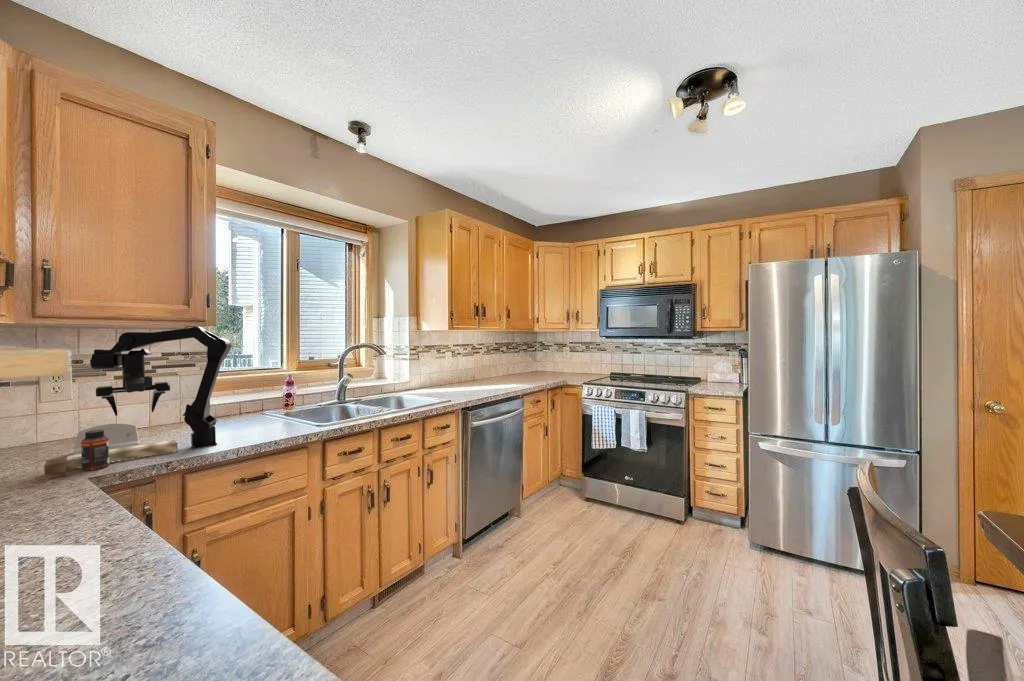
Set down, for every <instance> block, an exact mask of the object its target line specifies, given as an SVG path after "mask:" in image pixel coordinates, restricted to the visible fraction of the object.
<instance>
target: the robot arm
mask: <svg viewBox="0 0 1024 681" xmlns="http://www.w3.org/2000/svg"><path fill="white" fill-rule="evenodd" d="M193 338H194V339H195V340H196V341H198V342H199V343H201V344H202V345H203V346H205V347H206V348H207V349H206V357H207V358H206V359H207V360H206V365H205V368H204V372H203V374H202V377H201V381H200V383H199V387H198V390H197V393H196V396H195V398H194V401H191V402H190V403H186V406H185V411H184V413H183V414H182V417H183V418H184V419H183V420H184V422H185V424H186V425H188V426H189V427H190V430H191V431H192V433H190V445H191V446H192V447H193V446H194V447H195V448H194V447H193V448H194V449H199V448H198V447H200V448H205V446H206V447H212V446H217V445H218V443H217V440H216V435H217V433H216V427H215V426H216V424H217V421H218V419H216V418H215V417H214V416H212V414H211V413H210V412H211V397H212V394H213V391H214V388H215V384H216V381H217V377H218V375H219V372H220V369H221V366H222V363H223V362H224V360H225V359H226V358H227V356H228V354H229V353H230V351H231V348H232V343H231V342H230V340H229V339H227V338H226V337H224V338H223V337H219V336H218V335H216V334H214V333H212V332H209V331H208V330H206V329H205V328H204V327H202V326H192V327H186V328H179V329H170V330H163V331H154V332H153V331H152V332H151V331H150V332H147V331H145V332H144V331H129V332H128V331H126V332H123V333H121V334H120V336H119V337H118V340H117V342H116V343H115V344H114V346H113V347H112V348H111V349H102V348H101V349H100V348H99V349H94V350H93V353H92V355H91V358H90V360H89V364H90V367H91V369H92V370H96V371H98V370H118V369H119V367H122V369H121V372H122V374H121V375H122V386H119V387H118V386H116V387H113V386H112V385H104V386H100V385H99V386H96V388H95V397H96V398H97V397H101V399H102V400H103V399H104V400H106V401H107V402H108V403H109V405H110V407H111V409H112V412H113V413H114V416H115V417H118V408H117V404H116V401H115V396H114V394H117V393H119V394H120V393H128V394H129V393H133V392H135V393H136V392H142V393H143V392H145V391H152V397H151V407H150V409H151V413H154V412H155V409H156V406H157V403H158V402H159V399H160V397H161V396H162V395H163V394H166V392H168V391H171V384H170V383H168V382H167V381H158V382H157V381H156V382H154V383H153V376H152V375H149V376H146V372H145V371H146V369H145V368H146V367H145V365H146V363H145V356H151V355H152V354H153V352H151V351H149V350H148V348H146V347H148V346H152V345H155V344H159V343H164V342H171V341H178V340H179V341H180V340H186V339H193ZM136 349H139V350H136ZM124 352H125V353H124ZM126 352H128V353H126Z"/></svg>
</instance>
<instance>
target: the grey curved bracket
mask: <svg viewBox="0 0 1024 681" xmlns="http://www.w3.org/2000/svg"><path fill="white" fill-rule="evenodd" d="M92 430H104V435H105V436H106V437H108V439H109V450H110V449H117V448H124V447H130V446H137V445H141V442H140V437H139V433H138V427H137V425H135V424H130V423H129V424H127V423H107V424H102V425H96V426H92V427H87V428H85V429H83V430H80V431H78V432H77V434H76V439H75V442H74V447H73V452H72V453H73V455H77V454H82V453H81V441H82V440H83V439H85V437H86V436H85V432H87V431H92Z"/></svg>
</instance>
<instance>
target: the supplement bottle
mask: <svg viewBox="0 0 1024 681" xmlns="http://www.w3.org/2000/svg"><path fill="white" fill-rule="evenodd" d="M85 436H86V437H85V439H83V440H82V441H81V453H82V469H81V470H83V471H92V470H91V469H97V470H99V469H98V468H101V469H103V468H102V467H104V468H106V467H105V466H107V467H108V466H110V463H109V462H110V461H109V439H108V437H106V436H105V435H104V430H92V431H87V432H85Z"/></svg>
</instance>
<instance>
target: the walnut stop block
mask: <svg viewBox="0 0 1024 681" xmlns="http://www.w3.org/2000/svg"><path fill="white" fill-rule="evenodd" d="M43 467H44V480H46V479H47V480H52V479H51V478H53V479H57V478H56V477H58V478H63V477H62V476H64V477H66V476H67V473H66V472H68V470H67V456H65V457H59V458H58V457H57V458H52V459H46V461H45V462H44V466H43Z"/></svg>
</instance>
